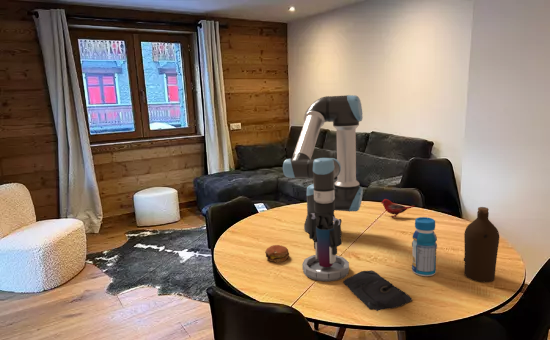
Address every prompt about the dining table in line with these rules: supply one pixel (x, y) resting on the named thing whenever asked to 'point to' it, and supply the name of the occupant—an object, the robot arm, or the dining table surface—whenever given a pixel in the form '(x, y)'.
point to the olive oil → (481, 248)
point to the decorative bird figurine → (394, 207)
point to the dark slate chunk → (376, 291)
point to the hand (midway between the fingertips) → (325, 259)
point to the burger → (277, 253)
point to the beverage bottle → (424, 247)
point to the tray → (325, 269)
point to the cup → (323, 246)
